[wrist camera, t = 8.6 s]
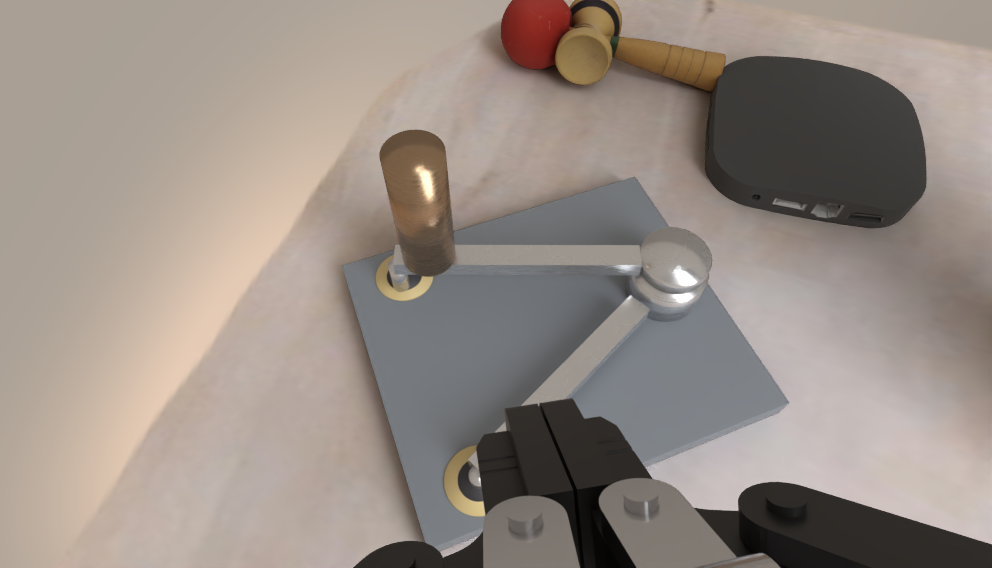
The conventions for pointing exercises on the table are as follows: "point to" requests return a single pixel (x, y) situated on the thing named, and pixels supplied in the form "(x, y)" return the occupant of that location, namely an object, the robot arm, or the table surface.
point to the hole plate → (543, 354)
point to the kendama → (595, 43)
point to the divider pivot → (606, 343)
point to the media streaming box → (814, 142)
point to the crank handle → (432, 251)
